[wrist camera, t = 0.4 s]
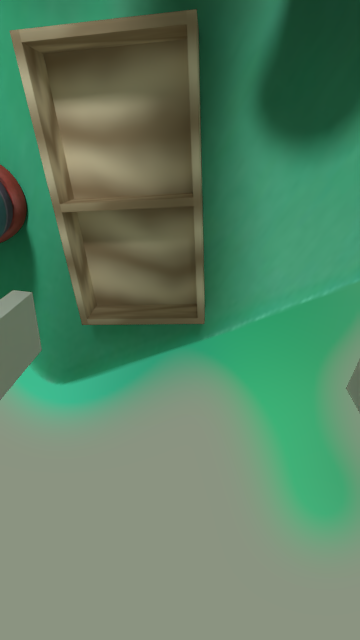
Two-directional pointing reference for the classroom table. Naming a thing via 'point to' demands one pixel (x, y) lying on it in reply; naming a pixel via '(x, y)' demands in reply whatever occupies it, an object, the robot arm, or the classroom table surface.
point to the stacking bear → (10, 205)
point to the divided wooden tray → (123, 161)
